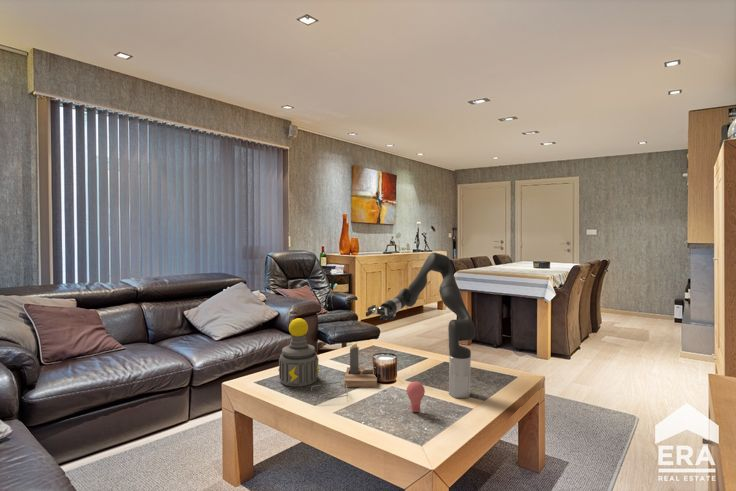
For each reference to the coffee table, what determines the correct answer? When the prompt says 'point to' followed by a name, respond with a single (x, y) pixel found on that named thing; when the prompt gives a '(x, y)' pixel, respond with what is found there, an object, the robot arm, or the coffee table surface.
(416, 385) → the light bulb
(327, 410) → the coffee table surface
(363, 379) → the socket board
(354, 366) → the plug
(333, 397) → the eyeglasses
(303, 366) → the decorative lamp
